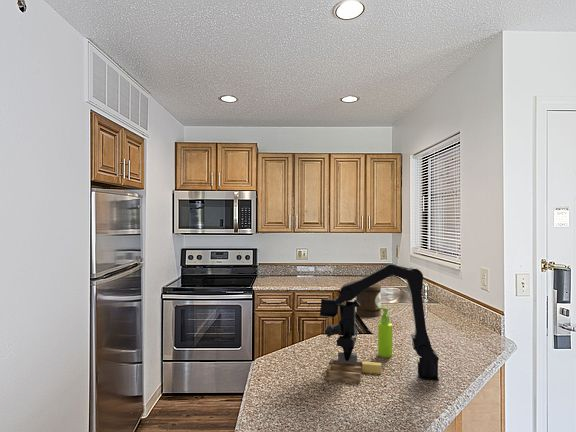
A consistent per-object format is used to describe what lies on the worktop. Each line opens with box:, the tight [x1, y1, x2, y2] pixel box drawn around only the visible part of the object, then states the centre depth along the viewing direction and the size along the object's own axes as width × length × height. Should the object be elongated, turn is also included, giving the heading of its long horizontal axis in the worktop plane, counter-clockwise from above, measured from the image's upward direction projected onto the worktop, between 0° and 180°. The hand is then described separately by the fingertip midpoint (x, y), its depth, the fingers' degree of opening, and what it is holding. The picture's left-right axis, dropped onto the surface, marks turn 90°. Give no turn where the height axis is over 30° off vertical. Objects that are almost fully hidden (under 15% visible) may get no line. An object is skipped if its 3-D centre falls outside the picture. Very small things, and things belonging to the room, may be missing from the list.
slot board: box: [325, 358, 363, 384], centre depth 154 cm, size 12×14×3 cm
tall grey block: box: [337, 351, 358, 364], centre depth 157 cm, size 7×3×3 cm, turn 83°
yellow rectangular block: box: [362, 360, 382, 375], centre depth 157 cm, size 7×3×3 cm, turn 77°
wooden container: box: [355, 283, 382, 318], centre depth 256 cm, size 15×15×22 cm
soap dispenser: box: [376, 306, 393, 358], centre depth 177 cm, size 6×7×20 cm
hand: (347, 359), depth 157 cm, fingers closed on tall grey block, 3 cm apart
